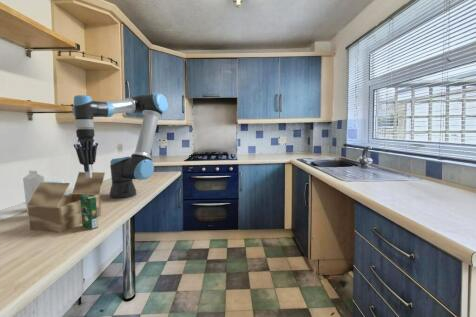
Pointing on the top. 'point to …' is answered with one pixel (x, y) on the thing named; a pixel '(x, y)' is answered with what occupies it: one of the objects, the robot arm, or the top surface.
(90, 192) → the flap
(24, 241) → the top surface
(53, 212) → the carton
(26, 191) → the milk
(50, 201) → the flap
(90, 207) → the coffee box
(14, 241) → the top surface
